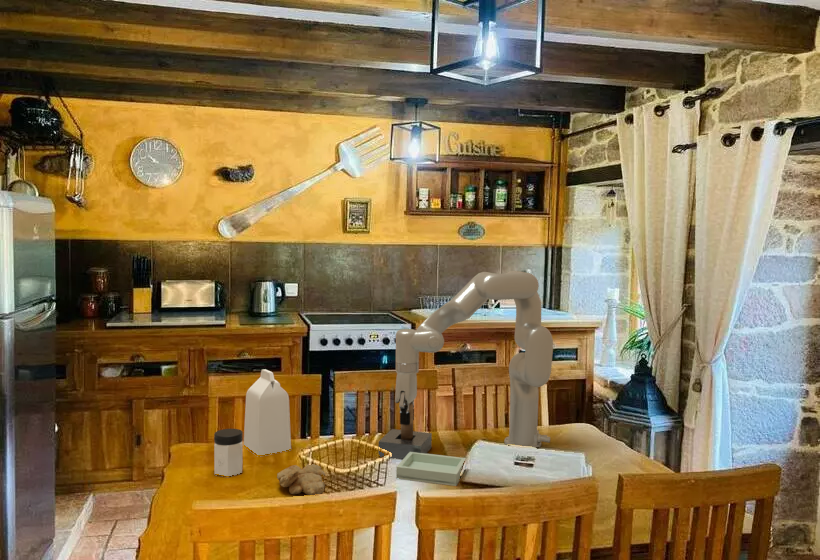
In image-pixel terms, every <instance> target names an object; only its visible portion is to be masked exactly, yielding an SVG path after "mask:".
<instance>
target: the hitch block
mask: <svg viewBox="0 0 820 560" xmlns="http://www.w3.org/2000/svg"><path fill="white" fill-rule="evenodd" d="M432 435H433V434H432V432H424V431H422V432H421V431H414V430H413V440H412V441H410V440H401V429H395V428H391V429H390V430H389V431H388V432H387V433H386V434H385V435H384V436H383V437H382V438H381V439H380V440H378V448H379V447H380V448H382V449H385V450H387V451H389V452H391V453H392V457H391V458H390V459H394V458H396V459H397V460H403V459H404V458H405V457H406V455H407V454H408V453H409V452H417V453H425V454H429V453H428V452H429V451H430V450H431V448H432ZM378 454H379V455H380V457H379V458H383V457H382V456H384V453H382V452H380V451H379V450H378ZM396 459H395V460H396Z"/></svg>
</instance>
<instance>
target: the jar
mask: <svg viewBox="0 0 820 560" xmlns="http://www.w3.org/2000/svg"><path fill="white" fill-rule="evenodd" d="M213 440H214V445H213V447H214V449H213V451H214V452H213V453H214V454H213V456H214V457H213V458H214V460H213V461H214V475H215V474H219V475H224V476H231V477H233V476H232V475H234V476H237V474H238V475H241V474H240V473H243V441H244V431H243V430H241V429H237V428H225V429H220V430H216V431H215V432H214V437H213Z"/></svg>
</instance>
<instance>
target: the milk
mask: <svg viewBox="0 0 820 560" xmlns="http://www.w3.org/2000/svg"><path fill="white" fill-rule="evenodd" d="M244 409H245V410H244V411H245V413H244V425H243V426H244V431H243V446H244V445H245V446H246V447H248V448H249V449H250V450H252V451H253V452H254V453H256V454H257V455H265V454H270V453H271V454H270V455H273V454H272V453H275V454H278V453H277V452H280V453H283V452H282V451H285V452H287V451H286V450H289V449H291V450H292V440H291V438H292V436H291V418H290V417H291V414H290V413H291V412H290V396H289V393H288V392H287V391H286V390H285V389H284V388H283V387H282V386H281V383H280V382H279V381H278V380H276V379H275V375H274V372H272V371H270V370H268V369H266V368H265V369H261V371H260V377H259V378H257V380H256V381H255V382H254V383H253V384H252V385H251V386H250V387H249V388H248V389H247V391H246V393H245V408H244ZM289 451H290V450H289ZM254 453H253V454H254ZM265 456H266V455H265Z"/></svg>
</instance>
